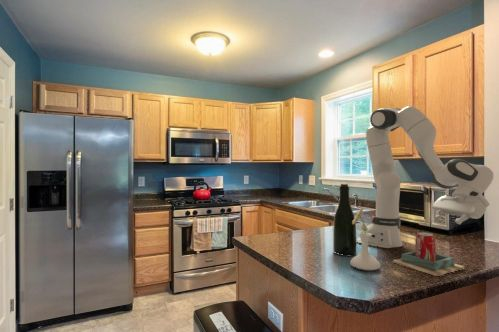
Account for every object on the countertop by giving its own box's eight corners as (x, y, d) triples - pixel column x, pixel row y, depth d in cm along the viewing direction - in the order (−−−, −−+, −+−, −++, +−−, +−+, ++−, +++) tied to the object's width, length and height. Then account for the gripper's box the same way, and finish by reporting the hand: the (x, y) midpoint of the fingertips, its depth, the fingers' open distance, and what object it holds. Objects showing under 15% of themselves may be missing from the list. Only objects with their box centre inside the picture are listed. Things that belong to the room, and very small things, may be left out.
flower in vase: (355, 261, 124) (355, 203, 124) (384, 267, 116) (383, 205, 117) (344, 269, 114) (343, 207, 114) (374, 276, 106) (373, 209, 107)
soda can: (411, 260, 121) (411, 232, 121) (427, 259, 121) (427, 231, 122) (423, 266, 114) (423, 235, 114) (440, 265, 114) (439, 235, 115)
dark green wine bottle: (334, 249, 142) (333, 183, 143) (356, 251, 139) (356, 183, 139) (332, 255, 133) (331, 184, 133) (356, 257, 129) (355, 184, 129)
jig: (436, 277, 105) (436, 265, 105) (393, 263, 121) (392, 253, 121) (464, 269, 113) (463, 258, 113) (419, 256, 130) (419, 247, 130)
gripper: (439, 190, 132) (421, 212, 130) (485, 194, 112) (465, 220, 110) (447, 199, 133) (430, 221, 131) (494, 205, 113) (474, 231, 111)
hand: (446, 220), depth 120 cm, fingers open, 8 cm apart
